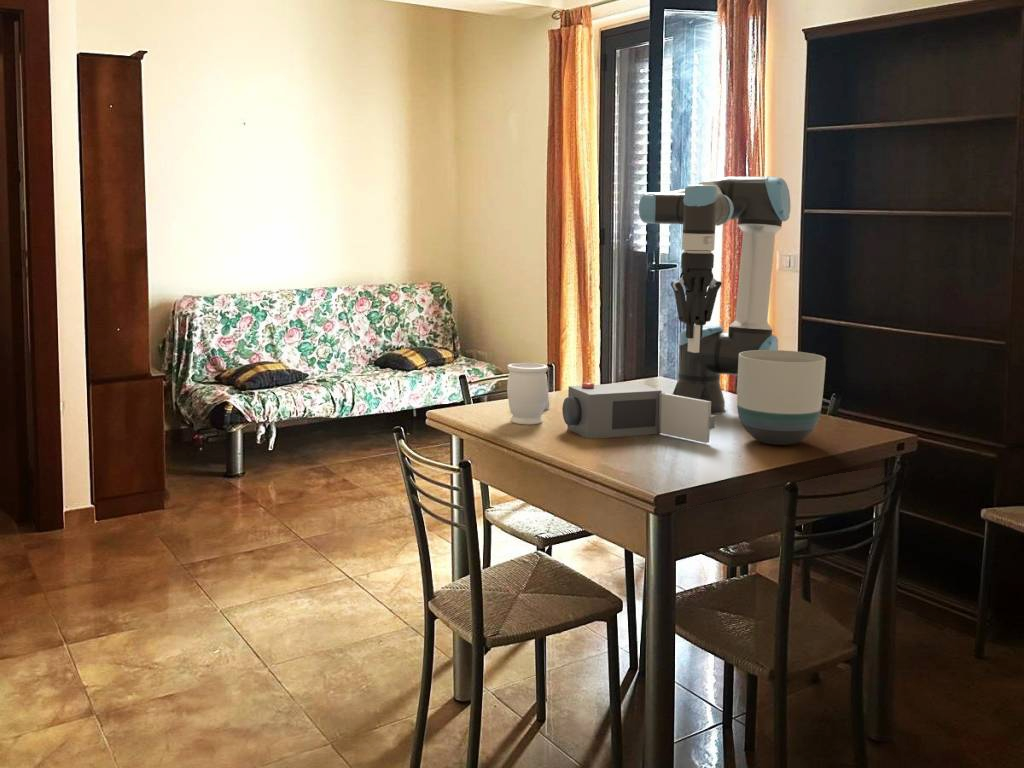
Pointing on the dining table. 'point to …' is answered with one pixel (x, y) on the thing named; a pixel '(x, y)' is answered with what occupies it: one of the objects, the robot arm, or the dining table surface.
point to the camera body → (612, 410)
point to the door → (685, 417)
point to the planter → (779, 394)
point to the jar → (527, 392)
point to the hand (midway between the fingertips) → (693, 351)
